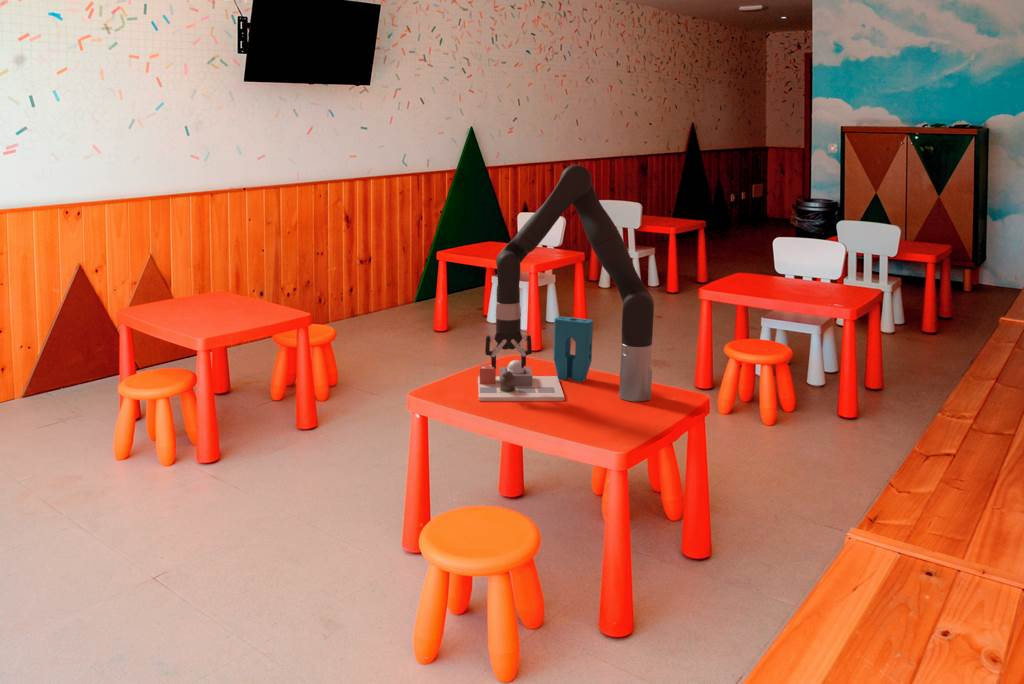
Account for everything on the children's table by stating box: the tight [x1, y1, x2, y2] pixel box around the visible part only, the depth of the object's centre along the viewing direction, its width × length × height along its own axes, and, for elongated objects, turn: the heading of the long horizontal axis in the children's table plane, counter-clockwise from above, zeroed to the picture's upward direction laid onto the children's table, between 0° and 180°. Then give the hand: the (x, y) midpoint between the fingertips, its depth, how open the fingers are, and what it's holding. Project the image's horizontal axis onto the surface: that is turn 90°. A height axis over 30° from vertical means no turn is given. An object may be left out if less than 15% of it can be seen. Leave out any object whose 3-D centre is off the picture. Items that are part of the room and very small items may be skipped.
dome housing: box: [498, 366, 533, 386], centre depth 290 cm, size 10×10×4 cm
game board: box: [477, 375, 565, 402], centre depth 286 cm, size 26×22×1 cm
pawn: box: [500, 371, 515, 392], centre depth 281 cm, size 4×4×6 cm
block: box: [553, 316, 594, 383], centre depth 296 cm, size 12×5×20 cm, turn 66°
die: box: [479, 364, 497, 384], centre depth 289 cm, size 5×5×5 cm
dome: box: [506, 359, 525, 374], centre depth 289 cm, size 6×6×5 cm
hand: (508, 367), depth 280 cm, fingers open, 8 cm apart
